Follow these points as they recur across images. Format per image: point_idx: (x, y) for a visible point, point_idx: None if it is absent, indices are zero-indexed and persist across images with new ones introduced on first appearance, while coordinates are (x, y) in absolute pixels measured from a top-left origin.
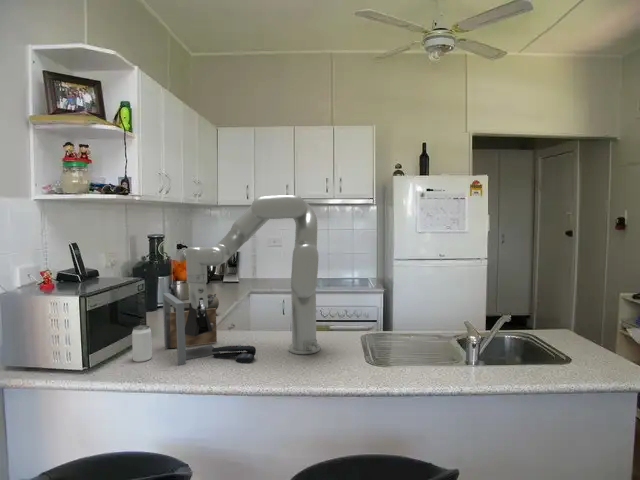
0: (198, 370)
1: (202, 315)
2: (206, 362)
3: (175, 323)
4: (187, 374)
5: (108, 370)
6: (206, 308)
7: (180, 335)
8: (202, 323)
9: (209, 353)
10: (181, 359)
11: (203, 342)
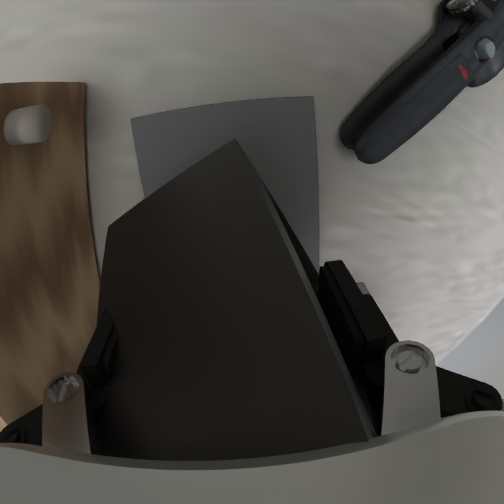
0: (456, 247)
1: (438, 380)
2: (402, 199)
3: None
4: (459, 284)
5: None
6: (476, 416)
7: None
8: (371, 307)
9: (296, 157)
10: None
11: (81, 165)
